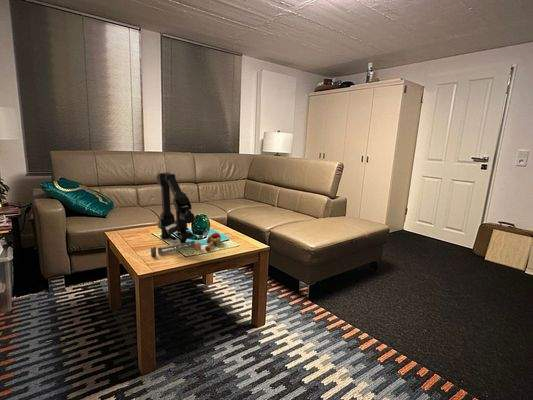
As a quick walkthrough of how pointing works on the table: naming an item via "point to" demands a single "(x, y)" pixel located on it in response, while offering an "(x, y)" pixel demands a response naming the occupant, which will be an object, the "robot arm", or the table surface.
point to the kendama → (213, 241)
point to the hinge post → (153, 251)
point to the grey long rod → (176, 247)
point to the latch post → (197, 246)
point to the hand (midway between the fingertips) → (182, 245)
